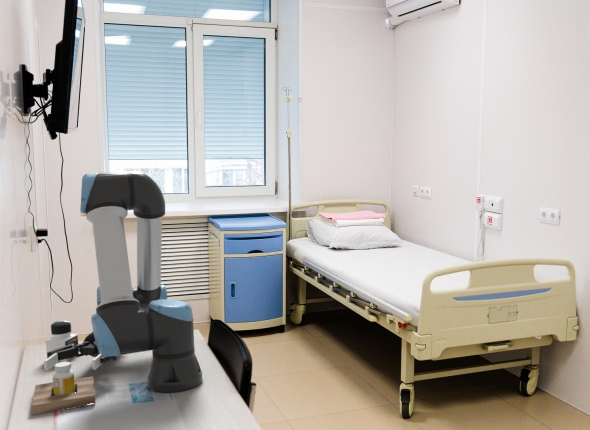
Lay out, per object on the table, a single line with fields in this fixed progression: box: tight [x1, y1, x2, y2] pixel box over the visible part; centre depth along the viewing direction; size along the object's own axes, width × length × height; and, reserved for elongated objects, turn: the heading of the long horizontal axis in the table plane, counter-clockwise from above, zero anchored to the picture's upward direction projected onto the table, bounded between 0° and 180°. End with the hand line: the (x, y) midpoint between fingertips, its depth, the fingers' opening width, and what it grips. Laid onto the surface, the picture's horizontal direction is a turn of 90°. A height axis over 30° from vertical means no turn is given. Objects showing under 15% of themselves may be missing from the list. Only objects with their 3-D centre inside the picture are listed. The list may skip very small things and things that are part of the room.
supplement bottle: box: [52, 361, 76, 396], centre depth 158 cm, size 5×5×10 cm
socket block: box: [31, 376, 96, 416], centre depth 158 cm, size 15×15×2 cm
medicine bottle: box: [45, 320, 79, 363], centre depth 192 cm, size 7×7×12 cm
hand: (69, 365), depth 163 cm, fingers open, 13 cm apart
